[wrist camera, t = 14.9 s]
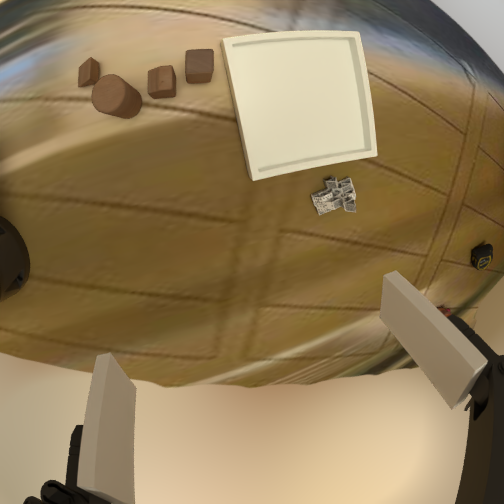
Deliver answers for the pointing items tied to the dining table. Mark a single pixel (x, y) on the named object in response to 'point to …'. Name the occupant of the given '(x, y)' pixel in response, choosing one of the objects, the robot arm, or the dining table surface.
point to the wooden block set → (159, 83)
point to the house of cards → (335, 196)
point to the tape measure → (482, 257)
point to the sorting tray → (300, 99)
